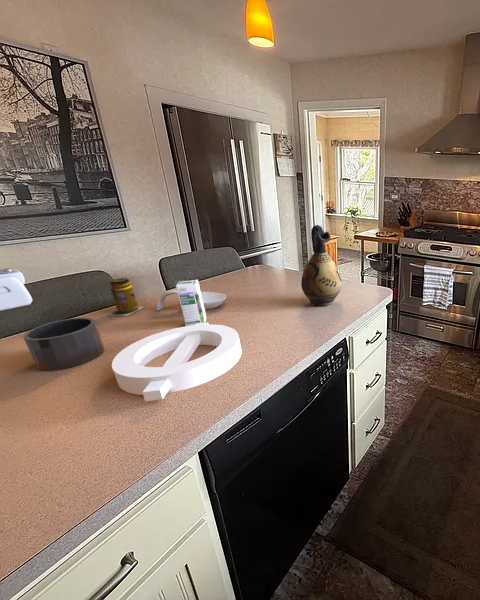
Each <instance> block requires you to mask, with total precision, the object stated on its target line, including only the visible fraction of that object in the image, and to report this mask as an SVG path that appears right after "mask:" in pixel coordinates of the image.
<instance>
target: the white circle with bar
mask: <svg viewBox="0 0 480 600" xmlns="http://www.w3.org/2000/svg"><path fill="white" fill-rule="evenodd" d="M241 345H242V344H241V340H240V335H239V333H238V331H237V330H236V329H234V328H233V327H230V326H227V325H223V324H210V323H209V322H208V321H207V322H205V323H196V325H192V326H186V325H185V326H181V327H175V328H171V329H167V330H164V331H160V332H156V333H154V334H151V335H148V336H146V337H144V338H141V339H139V340H137V341H135V342H133V343H131V344H129V345H128V346H126V347H125V348H123V349H122V350H120V351H119V353H117V354H116V356H114V358H113V360H112V362H111V368H112V371H113V374H114V377H115V380H116V383H117V385H118V387H119V388H120V389H121V390H122V391H124V392H126V393H128V394H133V395H137V396H143V398H144V399H143V400H144V402H151V401H159V400H160V401H161V400H164V398H165V397H166V395H167V394H171V393H177V392H182V391H185V390H188V389H192V388H195V387H198V386H201V385H204V384H205V383H208V382H210V381H212V380H215V379H216V378H218V377H220V376H221V375H223V374H225V373H226V372H228V371H229V370H230V369H232V368H233V367H234V366H235V365H236V364H237V363H238V362H239V361H240V358H241V356H242V355H243V354H242V352H243V351H242V346H241ZM199 346H213V347H215V349H213V350H212V351H210V352H208V353H206V354H205V355H202V356H200V357H198V358H195V359H192V360H190V359H191V357H192V356H193V354H194V353H195V351H196V350H197V348H198V347H199ZM170 352H173V353H171V355H170V357H168V359H167V360H166V361H165V362H164V364H163V365H162V366H146V365H147V364H148V363H150V362H151V361H153V360H154V359H157V358H158V357H160V356H162V355H165V354H167V353H170Z"/></svg>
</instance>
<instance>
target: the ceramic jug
mask: <svg viewBox="0 0 480 600" xmlns="http://www.w3.org/2000/svg"><path fill="white" fill-rule="evenodd" d="M310 231H311V232H310V234H311V236H310V238H311V244H312V246H311V247H312V255H311V257H310V258H309V260H308V261H307V263H306V265H305V267H304V269H303V272H302V274H301V283H300V284H301V290H302V292H303V294H304V296H305V297H306V298H307V299H308V300H309V302H310V304H311V305H312V306H313V307H327V306H330V305H333V304H334V302H335V300H336V298H337V297H338V295H339V294H340V292H341V290H342V287H343V285H342V284H343V283H342V276H341V273H340V270H339V268H338V266H337V264H336V263H335V261H334V260H333V258H332V257H331V255H330V254H329V253H328V251H327V250H326V245H325V244H326V243H328V242H330V241H331V234H330V232H329V231H325V232H324V230H323V227H322V226H321V225H319V224H315V225H313V226H312V228H311V230H310Z"/></svg>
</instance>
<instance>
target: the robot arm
mask: <svg viewBox="0 0 480 600" xmlns="http://www.w3.org/2000/svg"><path fill="white" fill-rule="evenodd" d="M26 280H27V279H26V277H25V275H24V273H23V272H22V271H20V270H19V269H12V268H2V269H0V312H1V311H6V310H10V309H16V308H20V307H25V306H29V305H31V304H32V302H33V301H34V300H33V298H32V295H31V293H30V292H29V290H28V289H27V288H26V286H25V284H26V282H27V281H26Z"/></svg>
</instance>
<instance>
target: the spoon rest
mask: <svg viewBox="0 0 480 600" xmlns="http://www.w3.org/2000/svg"><path fill="white" fill-rule="evenodd" d="M171 295H177V296H178V293H177V289H176V288H175V289H170V290H167V291H166V292H164V293H163V294H161V295H160V296H159V297H158V298H157V300H156V302H155V309H156V311H160V310H161V311H162V309H164V308H165V307H166V298H167V297H168V296H171ZM201 295H202V300H203V304H204V309H205V310H213V309H216V308H218V307H219V306H222V304H223V303H224V302H225V301H226V299H227V295H226V294H225V293H221V292H215V291H214V292H213V291H201Z"/></svg>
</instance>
